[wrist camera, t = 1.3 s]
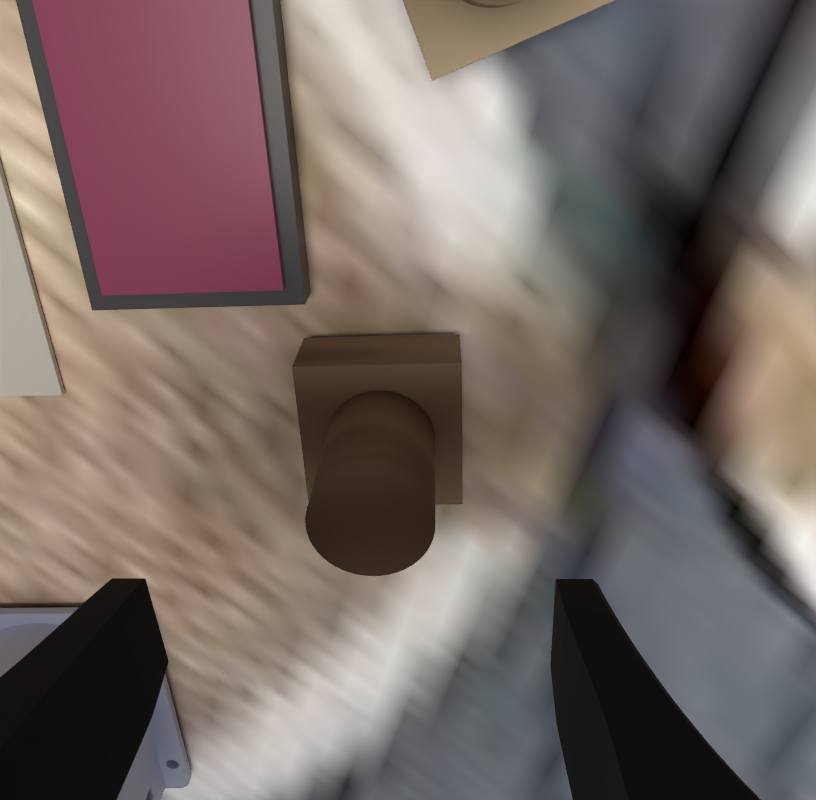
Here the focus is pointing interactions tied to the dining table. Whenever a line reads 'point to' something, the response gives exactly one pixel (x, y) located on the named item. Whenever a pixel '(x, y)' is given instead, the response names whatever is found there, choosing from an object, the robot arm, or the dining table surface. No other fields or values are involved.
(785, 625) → the dining table surface
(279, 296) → the ink pad
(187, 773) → the robot arm
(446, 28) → the oak stamp
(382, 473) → the walnut stamp
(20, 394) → the sheet
